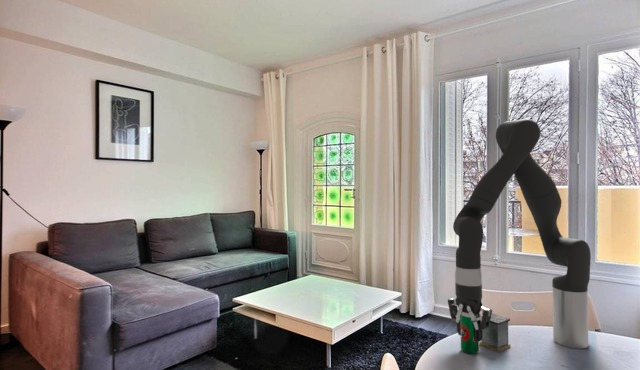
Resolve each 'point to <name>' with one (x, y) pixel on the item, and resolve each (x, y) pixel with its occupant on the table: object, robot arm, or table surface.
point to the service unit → (496, 334)
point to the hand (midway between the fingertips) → (469, 337)
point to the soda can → (468, 334)
